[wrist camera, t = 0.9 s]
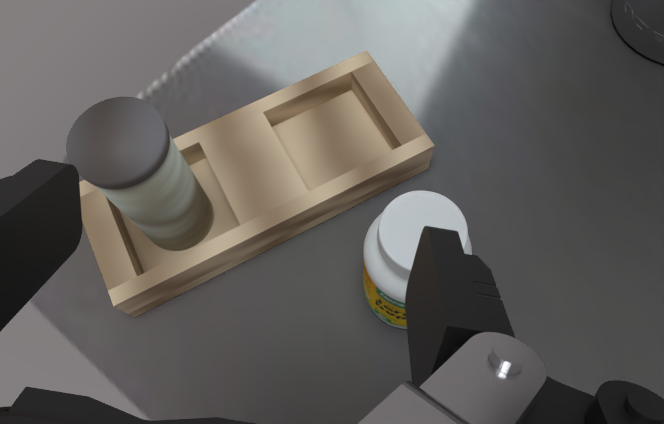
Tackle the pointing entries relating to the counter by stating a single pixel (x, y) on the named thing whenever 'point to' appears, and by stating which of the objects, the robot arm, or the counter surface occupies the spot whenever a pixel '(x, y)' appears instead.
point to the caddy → (234, 177)
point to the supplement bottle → (403, 248)
